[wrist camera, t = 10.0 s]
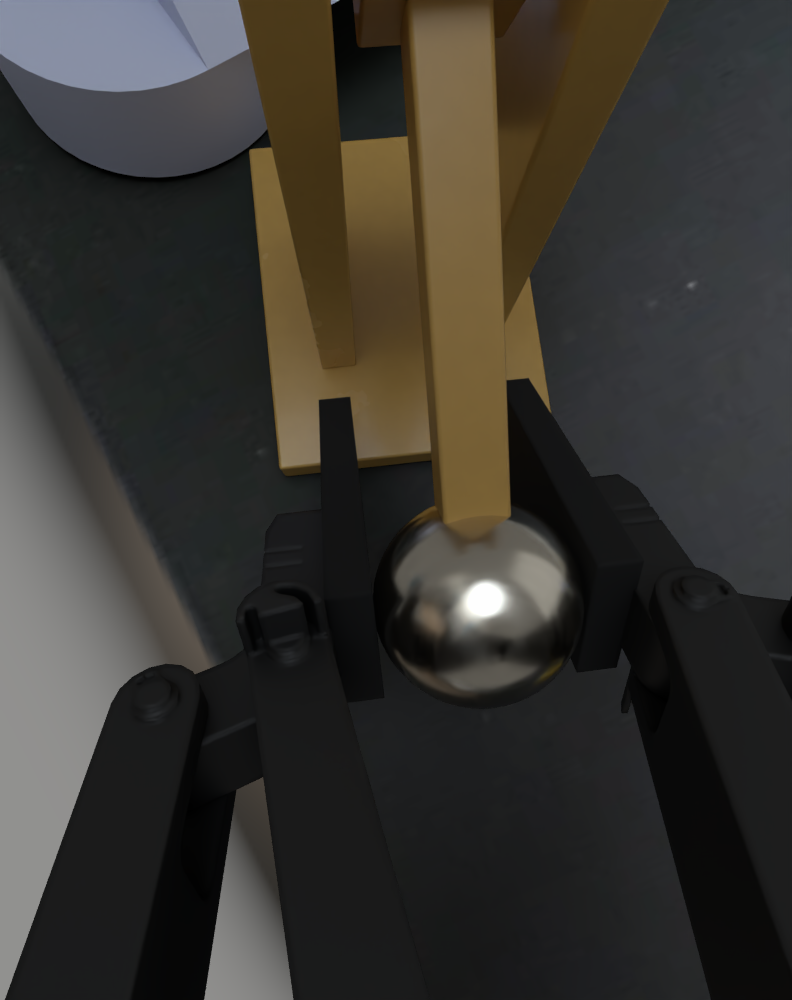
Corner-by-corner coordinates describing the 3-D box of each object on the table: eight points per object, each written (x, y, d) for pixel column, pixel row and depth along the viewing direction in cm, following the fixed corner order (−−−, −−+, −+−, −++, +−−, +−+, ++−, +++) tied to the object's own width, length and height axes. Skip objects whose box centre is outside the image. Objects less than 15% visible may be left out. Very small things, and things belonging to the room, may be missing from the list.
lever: (546, 626, 13) (619, 741, 10) (377, 647, 13) (391, 772, 9) (533, -176, 9) (655, -472, 6) (285, -162, 9) (251, -461, 5)
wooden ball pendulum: (544, 448, 19) (988, 96, 5) (285, 477, 19) (44, 173, 5) (498, 153, 20) (760, -733, 7) (255, 174, 20) (0, -731, 6)
